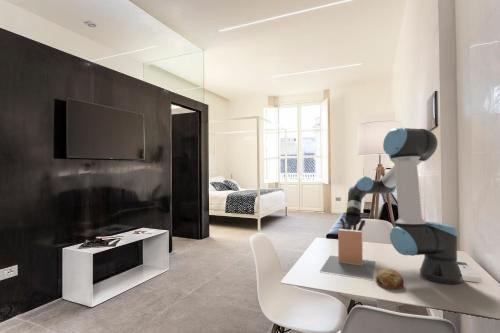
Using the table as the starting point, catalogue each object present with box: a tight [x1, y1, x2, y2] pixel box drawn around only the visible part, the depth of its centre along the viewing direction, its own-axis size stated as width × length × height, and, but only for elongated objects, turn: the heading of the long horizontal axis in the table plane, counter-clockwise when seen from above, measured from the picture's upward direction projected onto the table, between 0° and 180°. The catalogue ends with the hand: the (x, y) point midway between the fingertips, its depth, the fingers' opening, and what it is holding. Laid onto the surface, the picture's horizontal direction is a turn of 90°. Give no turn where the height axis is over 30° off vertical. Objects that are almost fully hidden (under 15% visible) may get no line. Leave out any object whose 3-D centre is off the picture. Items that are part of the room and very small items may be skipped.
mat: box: [319, 255, 376, 281], centre depth 135 cm, size 26×22×1 cm
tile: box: [337, 228, 364, 265], centre depth 139 cm, size 3×11×16 cm, turn 64°
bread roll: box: [375, 268, 405, 291], centre depth 114 cm, size 10×10×8 cm
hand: (350, 247), depth 142 cm, fingers closed
